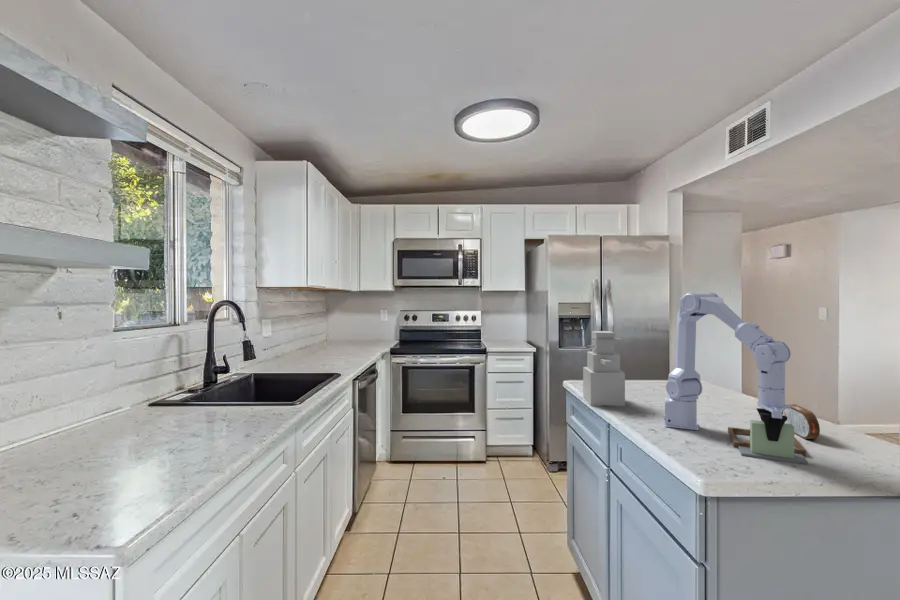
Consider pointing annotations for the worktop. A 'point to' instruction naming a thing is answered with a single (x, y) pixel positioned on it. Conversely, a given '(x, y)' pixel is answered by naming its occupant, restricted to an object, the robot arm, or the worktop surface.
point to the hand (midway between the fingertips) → (771, 438)
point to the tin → (802, 422)
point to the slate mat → (797, 457)
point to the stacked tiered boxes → (603, 372)
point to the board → (767, 447)
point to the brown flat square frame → (731, 431)
